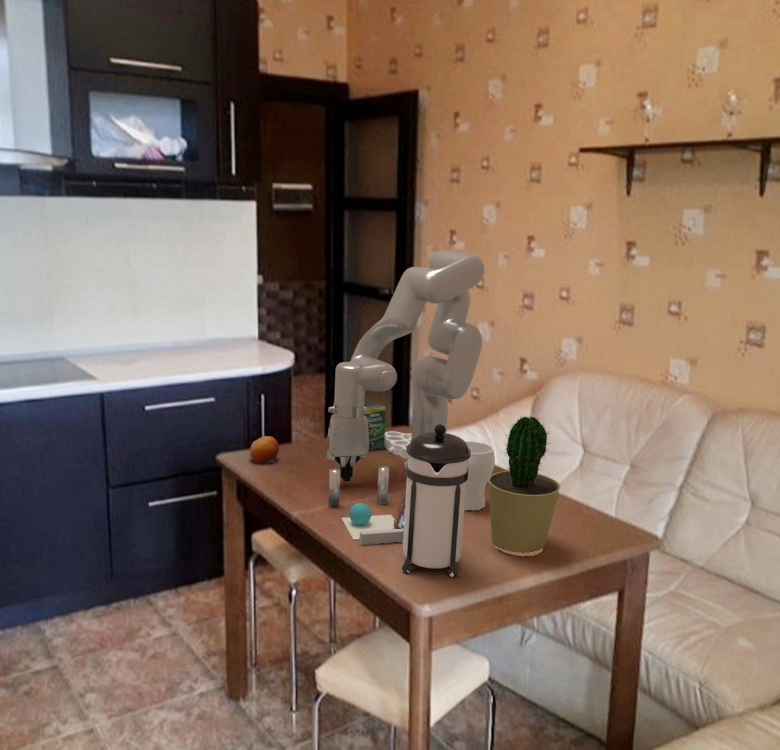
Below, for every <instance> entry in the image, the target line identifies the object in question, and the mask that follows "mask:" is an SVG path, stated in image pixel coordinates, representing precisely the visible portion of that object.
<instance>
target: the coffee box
mask: <svg viewBox="0 0 780 750" xmlns="http://www.w3.org/2000/svg"><path fill="white" fill-rule="evenodd" d="M386 408H387V406H385V405H383V404H376V405H368V406H367V405H366V406H364V415H365V416H366V417H367V422H368V434H369V450H368V452H369V451H375V450H376V451H377V450H382V449H383V450H384V449H385V446H384V444H385V432H386Z"/></svg>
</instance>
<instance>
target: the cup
mask: <svg viewBox="0 0 780 750" xmlns="http://www.w3.org/2000/svg"><path fill="white" fill-rule="evenodd" d="M465 442H466V443H467V445H468V448H469V449H470V451H471V456H470V458H469V459H468V469H469V472H468V480H467V483H466V496H465V510H464V511H466V510H478V509H481V508H483V507H484V506H485V507H486V499H485V498H486V497H485V490H486V485H487V483H488V478H489V476H491V475H492V474H493V471H494V469H495V463H496V462H495V461H496V458H495V457H496V456H495V451H494V447H493V446H491V445H489V444H487V443H484V442H478V441H465Z"/></svg>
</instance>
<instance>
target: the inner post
mask: <svg viewBox="0 0 780 750" xmlns="http://www.w3.org/2000/svg"><path fill="white" fill-rule="evenodd" d="M377 471H378V472H377V493H376V504H377V505H382V506H383V505H385V506H386V505H388V498H389V482H390V481H389V479H390V467H389V466H385V465H380V466H378V470H377Z"/></svg>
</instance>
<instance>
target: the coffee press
mask: <svg viewBox="0 0 780 750" xmlns="http://www.w3.org/2000/svg"><path fill="white" fill-rule="evenodd" d="M434 430H435V432H431V433H424V434H420V435H418V436H416V437H414V438H413V439H412V440H411V442H410V444H409V445H408V446H407V454H408V459H407V460H408V463H407V466H406V470H405V474H406V489H405V503H404V523H403V528H404V537H403V542H402V554H403V556H404V558H405V560H404V563H403V565H402V566H401V570H402V572H404V573H406V574H407V570H408V571H409V572H410V573H411V572H412V571H413V570H414V568H415V567H416V566H418V567H420V568H421V567H422V568H427V569H445V570H446V572H447V574H448V575H449V574H451V573H452V572H453V574H454V576H455V577H457V576H456V575H458V574H459V572H460V571H459V569H458V567H457V562H459V560H460V559H461V557H462V556H461V555H462V548H463V547H462V545H463V535H464V534H463V532H464V521H465V510H464V509H465V496H466V483H467V480H468V472H469V469H468V459H469V458H470V456H471V451H470V449H469V448H468V445H467V443H466V442H467V441H466V440H464V439H463V438H461V437H459V436H458V435H455V434H451V433H447V429H445V426H444V425H442V424H438V425H437V426H436V427H435V429H434ZM445 431H446V433H445ZM458 576H459V575H458Z"/></svg>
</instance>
